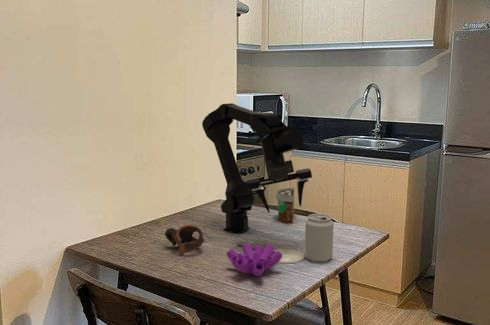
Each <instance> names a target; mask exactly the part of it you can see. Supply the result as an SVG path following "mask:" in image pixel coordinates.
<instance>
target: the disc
mask: <svg viewBox="0 0 490 325" xmlns="http://www.w3.org/2000/svg"><path fill="white" fill-rule="evenodd" d="M274 251H275V252H276V251H278V252H280V253H281V254H282V255H283V256H282V258H281V259H280V261H279V262H278V263H277V264H285V265H286V264H287V265H288V264H297V263H300V262H302V261H304V259H305V254H304V253H303V252H301V251H299V250H296V249H288V248H280V249H274Z"/></svg>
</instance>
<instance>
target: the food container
mask: <svg viewBox="0 0 490 325" xmlns="http://www.w3.org/2000/svg"><path fill="white" fill-rule="evenodd" d="M275 199H276V200H277V212H278V221H279V222H280V223H283V224H284V223H285V224H289V225H290V224H291V225H292V224H294V223H293V222H294V218H295V216H294V214H295V212H294V211H295V210H294V209H295V188H294V187H287V188H281V189H278V190H277V191H276V194H275Z"/></svg>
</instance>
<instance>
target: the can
mask: <svg viewBox="0 0 490 325" xmlns="http://www.w3.org/2000/svg"><path fill="white" fill-rule="evenodd" d="M304 231H305V233H304V234H305V236H304V257H305V258H307V259H308V260H309V261H311V262H313V261H314V263H326V262H328V261H330V259H332V258H333V256H334V255H333V250H334V249H333V248H334V221H333V220H332V217H331V216H330V215H328V214H326V213H325V214H324V213H312V214H309V215H308V216H307V219H306V220H305V229H304Z"/></svg>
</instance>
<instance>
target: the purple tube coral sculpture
mask: <svg viewBox="0 0 490 325" xmlns="http://www.w3.org/2000/svg"><path fill="white" fill-rule="evenodd" d="M251 245H252V244H251V243H244V245H243V247H242V252H239V253H238V252H237V251H236V250H235V249H234V248H233V247H232V248H231V249H229V250H228V251H227V252H225V254H226V256H227V257H228V260H230V263H231V264H232V266H233V267H234V268H235V269H236V270H238V271H240V272H242V273H243V274H244V273H245V274H250V275H251V274H252V275H254V276H257V277H260V276H261V275H263V274H264V272H265V271H267V270H269V269H271V268H273V267H275V266H276V265H277V264H279V263H278V262H279V261H280V259H281V258H282V256H283V255H282V254H281V253H280V252H278V251H276V252H275V251H274V250H275V247H274V246H275V245H274V246H273V245H272V244H269V243H267V244H265V246H264V247H263V245H257V244H256V245H255V246H256V247H255V250H254V249H252V246H253V245H252V246H251ZM263 248H264V250H263Z"/></svg>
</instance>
